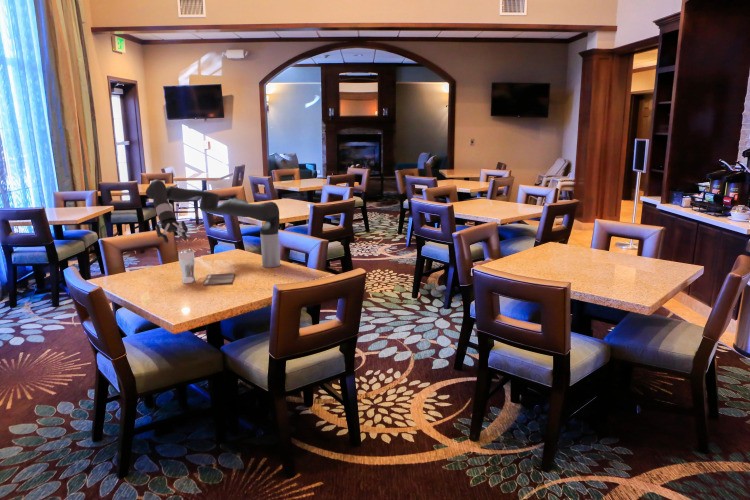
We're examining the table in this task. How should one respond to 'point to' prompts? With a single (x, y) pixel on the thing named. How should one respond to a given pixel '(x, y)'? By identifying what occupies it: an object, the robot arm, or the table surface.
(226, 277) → the board
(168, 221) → the robot arm
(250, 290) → the table surface
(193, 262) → the beer glass
